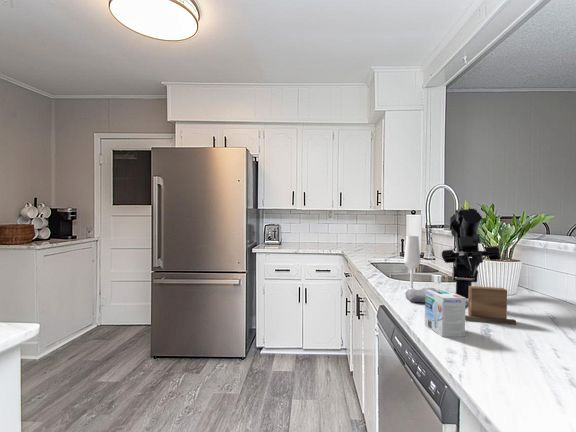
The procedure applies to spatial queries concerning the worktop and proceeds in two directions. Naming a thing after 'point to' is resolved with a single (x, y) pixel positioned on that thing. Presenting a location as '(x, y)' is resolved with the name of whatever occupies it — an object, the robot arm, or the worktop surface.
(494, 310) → the light brown wooden block
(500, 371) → the worktop surface
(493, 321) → the grey rectangular bar
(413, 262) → the champagne flute
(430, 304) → the light bulb box
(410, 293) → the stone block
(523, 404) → the worktop surface
